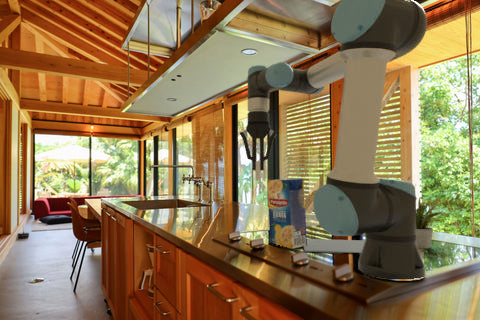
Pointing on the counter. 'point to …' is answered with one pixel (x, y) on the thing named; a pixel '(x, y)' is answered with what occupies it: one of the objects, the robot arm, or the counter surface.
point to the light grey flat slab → (334, 246)
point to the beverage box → (287, 212)
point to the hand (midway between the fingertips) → (258, 180)
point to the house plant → (424, 225)
